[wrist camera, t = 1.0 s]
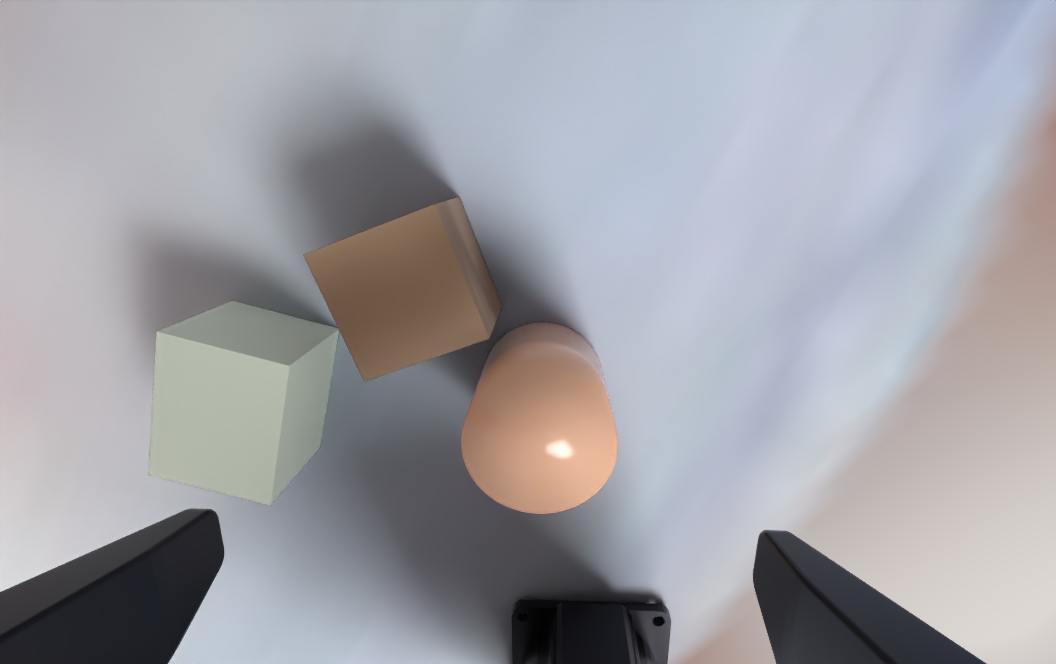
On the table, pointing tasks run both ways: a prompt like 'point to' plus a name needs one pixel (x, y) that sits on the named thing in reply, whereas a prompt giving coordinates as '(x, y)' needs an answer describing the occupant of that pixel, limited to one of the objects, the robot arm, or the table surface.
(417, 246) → the walnut block
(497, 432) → the peach rounded capsule
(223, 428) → the sage block
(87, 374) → the table surface
